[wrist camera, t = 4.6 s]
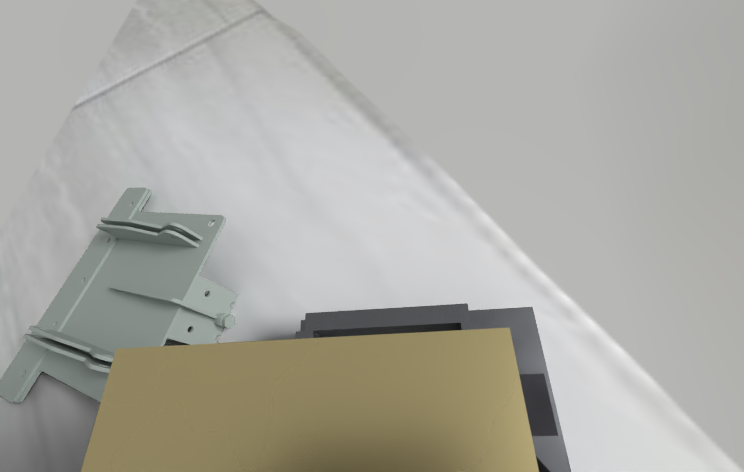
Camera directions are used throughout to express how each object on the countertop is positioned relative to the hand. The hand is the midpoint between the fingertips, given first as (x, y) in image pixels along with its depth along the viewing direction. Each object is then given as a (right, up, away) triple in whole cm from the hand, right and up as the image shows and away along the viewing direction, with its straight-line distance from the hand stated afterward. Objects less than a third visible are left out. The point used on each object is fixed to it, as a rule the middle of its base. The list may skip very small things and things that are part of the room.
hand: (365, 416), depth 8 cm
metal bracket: (-15, 0, +16) cm, 22 cm away
